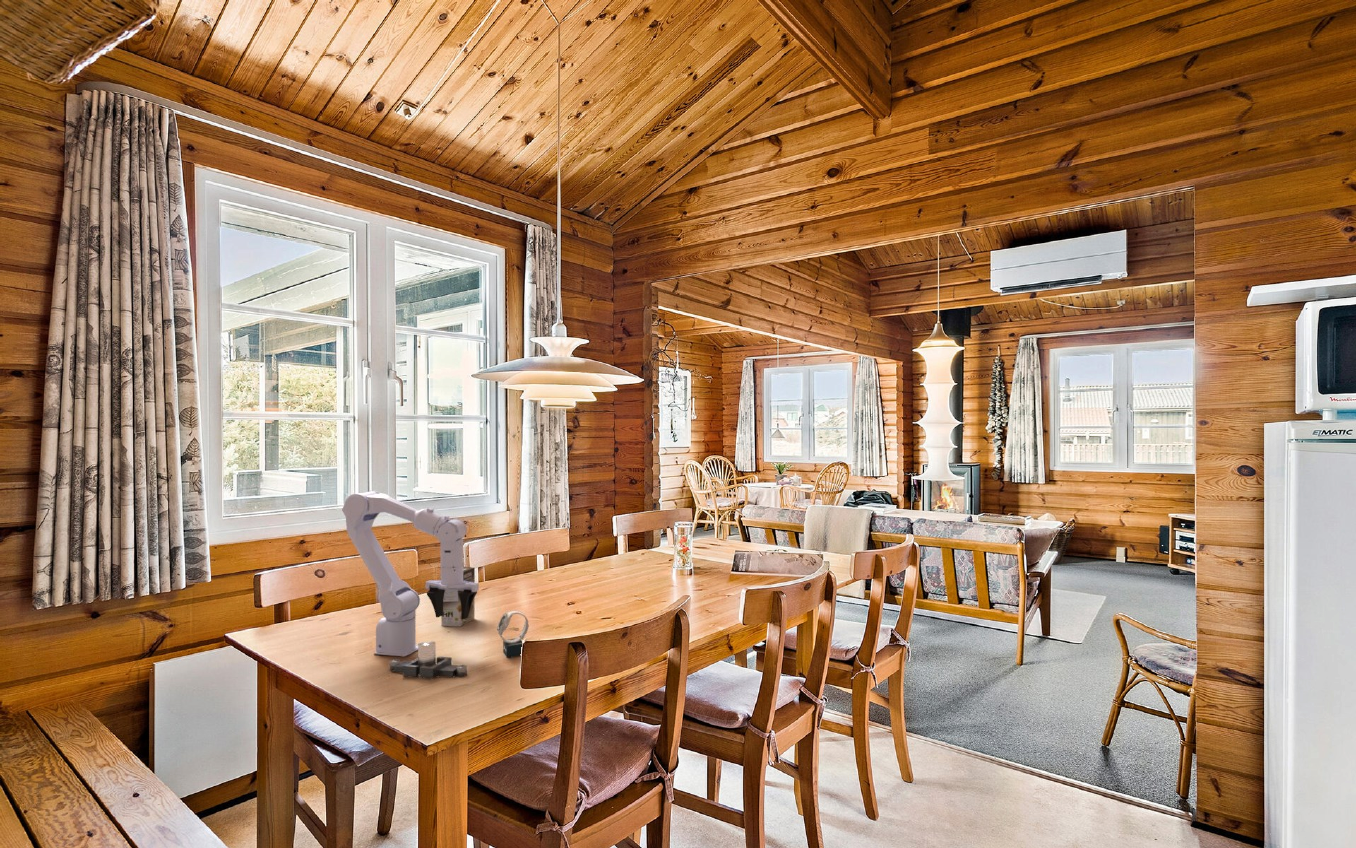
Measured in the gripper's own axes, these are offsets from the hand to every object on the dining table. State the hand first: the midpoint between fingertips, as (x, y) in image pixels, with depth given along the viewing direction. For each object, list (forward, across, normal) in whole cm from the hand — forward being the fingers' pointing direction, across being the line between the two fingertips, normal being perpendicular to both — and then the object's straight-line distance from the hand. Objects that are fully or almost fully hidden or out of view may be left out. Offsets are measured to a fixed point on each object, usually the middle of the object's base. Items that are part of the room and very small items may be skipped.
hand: (452, 617), depth 182 cm
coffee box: (+10, -14, +26) cm, 31 cm away
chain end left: (+9, -3, -14) cm, 17 cm away
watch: (+10, +16, +3) cm, 19 cm away
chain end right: (+9, +7, -14) cm, 18 cm away
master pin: (+9, +2, -14) cm, 17 cm away
